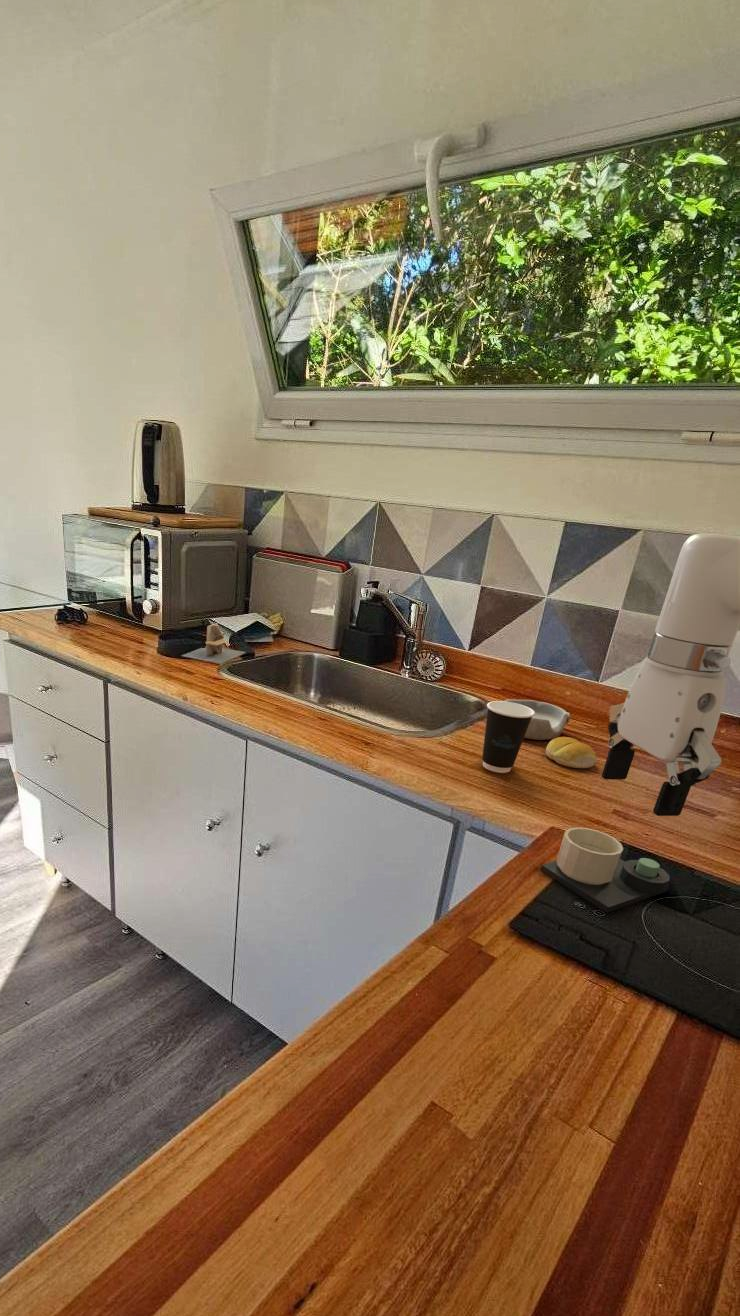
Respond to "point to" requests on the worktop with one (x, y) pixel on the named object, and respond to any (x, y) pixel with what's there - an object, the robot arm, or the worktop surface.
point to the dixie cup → (504, 734)
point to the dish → (544, 720)
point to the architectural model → (214, 648)
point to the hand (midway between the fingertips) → (638, 795)
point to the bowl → (589, 856)
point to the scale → (614, 885)
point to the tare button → (647, 867)
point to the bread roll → (571, 753)
